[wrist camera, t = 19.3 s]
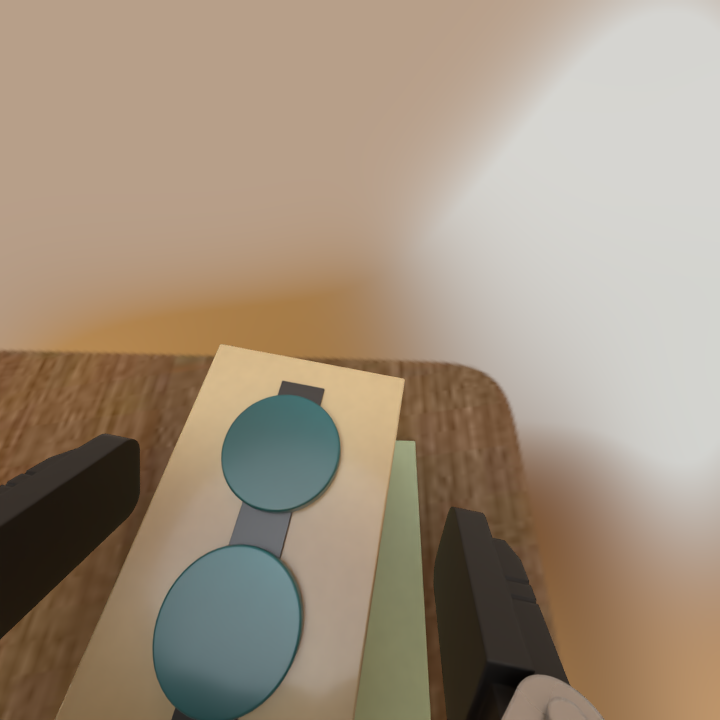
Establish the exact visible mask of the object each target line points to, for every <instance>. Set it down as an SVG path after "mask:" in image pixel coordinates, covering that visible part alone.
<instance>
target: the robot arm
mask: <svg viewBox="0 0 720 720" xmlns="http://www.w3.org/2000/svg"><path fill="white" fill-rule="evenodd" d="M139 494H140V448H139V444H138V442H137V441H136V440H134V439H129V438H125V437H120V436H115V435H110V434H101V435H99V436H97V437H96V438H94V439H92V440H91V441H89V442H87V443H86V444H84V445H82V446H81V447H79V448H77V449H74V450H71V451H68V452H65V453H62V454H59V455H56V456H53V457H50V458H48V459H46V460H45V461H43V462H41V463H39V464H38V465H36V466H34V467H32V468H31V469H29V470H27V471H26V473H25V474H20V475H18V476H17V477H15V478H13V479H11V480H10V481H8V482H7V484H6V485H1V486H0V639H1V638H2V637H3V636H4V635H5V634H6V633H7V632H8V631H10V630H11V629H12V628H13V627H14V626H15V625H16V624H17V623H18V622H19V621H20V620H21V619H22V618H23V617H24V616H25V615H26V614H27V613H28V612H29V611H30V610H31V609H33V608H34V607H35V606H36V605H37V604H38V603H39V602H40V601H41V600H42V599H43V598H44V597H45V596H46V595H47V594H48V593H49V592H50V591H51V590H52V589H53V588H54V587H56V586H57V585H58V584H59V583H60V582H61V581H62V580H63V579H64V578H65V577H66V576H67V575H68V574H69V573H70V572H71V571H72V570H73V569H74V568H75V567H76V566H77V565H79V564H80V563H81V562H82V561H83V560H84V559H85V558H86V557H87V556H88V555H89V554H90V553H91V552H92V551H93V550H94V549H95V548H96V547H97V546H98V545H99V544H100V543H102V542H103V541H104V540H105V539H106V538H107V537H108V536H109V535H110V534H111V533H112V532H113V531H114V530H115V529H116V528H117V527H118V526H119V525H120V524H121V523H122V522H123V521H125V520H126V519H127V518H128V517H129V515H130V514H131V513H132V511H133V510H134V508H135V506H136V504H137V501H138V498H139ZM434 593H435V603H436V613H437V623H438V633H439V643H440V653H441V663H442V673H443V683H444V693H445V703H446V713H447V720H604V718H603V717H602V716H601V714H600V713H599V712H598V711H597V709H596V708H595V707H594V706H593V705H592V704H591V703H590V702H589V701H588V700H587V699H586V698H585V697H584V696H583V695H581V694H580V693H579V692H578V691H577V690H575V689H574V688H573V687H571V686H570V684H569V682H568V679H567V677H566V674H565V672H564V669H563V666H562V664H561V661H560V659H559V656H558V654H557V651H556V649H555V646H554V644H553V641H552V639H551V636H550V633H549V631H548V628H547V626H546V623H545V621H544V618H543V616H542V613H541V611H540V608H539V605H538V604H536V598H535V595H534V593H533V590H532V588H531V585H529V580H528V578H527V575H526V572H525V570H524V567H523V565H522V562H521V560H520V559H519V557H518V556H517V555H516V554H515V553H514V551H513V550H512V549H511V548H510V546H509V545H508V544H507V543H506V542H505V540H500V539H495V538H492V535H491V532H490V529H489V526H488V523H487V520H486V517H485V515H484V514H483V513H481V512H476V511H471V510H466V509H461V508H456V507H451V508H450V510H449V512H448V516H447V519H446V523H445V526H444V530H443V534H442V537H441V541H440V545H439V548H438V552H437V556H436V560H435V567H434Z"/></svg>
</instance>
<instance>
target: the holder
mask: <svg viewBox="0 0 720 720" xmlns="http://www.w3.org/2000/svg"><path fill="white" fill-rule="evenodd" d="M404 383H405V380H404V379H402V378H397V377H392V376H386V375H381V374H376V373H371V372H365V371H360V370H355V369H350V368H344V367H339V366H334V365H329V364H323V363H318V362H313V361H307V360H302V359H297V358H292V357H286V356H281V355H276V354H271V353H265V352H260V351H255V350H249V349H244V348H239V347H234V346H229V345H223V344H221V345H220V346H219V349H218V351H217V353H216V355H215V358H214V360H213V362H212V364H211V367H210V369H209V371H208V373H207V376H206V378H205V380H204V383H203V385H202V387H201V389H200V392H199V394H198V396H197V398H196V401H195V403H194V405H193V407H192V410H191V412H190V414H189V417H188V419H187V421H186V423H185V426H184V428H183V430H182V432H181V435H180V437H179V439H178V441H177V444H176V446H175V448H174V451H173V453H172V455H171V457H170V460H169V462H168V464H167V466H166V469H165V471H164V473H163V476H162V478H161V480H160V482H159V485H158V487H157V489H156V491H155V494H154V496H153V498H152V500H151V503H150V505H149V507H148V510H147V512H146V514H145V516H144V519H143V521H142V523H141V525H140V528H139V530H138V532H137V535H136V537H135V539H134V541H133V544H132V546H131V548H130V550H129V553H128V555H127V557H126V559H125V562H124V564H123V566H122V569H121V571H120V573H119V575H118V578H117V580H116V582H115V584H114V587H113V589H112V591H111V593H110V596H109V598H108V600H107V603H106V605H105V607H104V609H103V612H102V614H101V616H100V618H99V621H98V623H97V625H96V628H95V630H94V632H93V634H92V637H91V639H90V641H89V643H88V646H87V648H86V650H85V652H84V655H83V657H82V659H81V662H80V664H79V666H78V668H77V671H76V673H75V675H74V677H73V680H72V682H71V684H70V686H69V689H68V691H67V693H66V696H65V698H64V700H63V702H62V705H61V707H60V709H59V711H58V714H57V716H56V718H55V720H354V718H355V711H356V704H357V698H358V691H359V684H360V677H361V671H362V664H363V657H364V651H365V644H366V637H367V631H368V624H369V617H370V610H371V604H372V597H373V590H374V584H375V577H376V570H377V564H378V557H379V550H380V543H381V537H382V530H383V523H384V517H385V510H386V503H387V497H388V490H389V483H390V476H391V470H392V463H393V456H394V450H395V443H396V436H397V430H398V423H399V416H400V409H401V403H402V396H403V389H404Z"/></svg>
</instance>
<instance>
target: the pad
mask: <svg viewBox="0 0 720 720" xmlns="http://www.w3.org/2000/svg"><path fill="white" fill-rule="evenodd" d="M354 720H431V714H430V697H429V679H428V661H427V643H426V626H425V608H424V590H423V573H422V555H421V537H420V519H419V502H418V484H417V466H416V449H415V441H396V443H395V450H394V456H393V463H392V470H391V476H390V483H389V490H388V497H387V503H386V510H385V517H384V523H383V530H382V537H381V543H380V550H379V557H378V564H377V570H376V577H375V584H374V590H373V597H372V604H371V610H370V617H369V624H368V631H367V637H366V644H365V651H364V657H363V664H362V671H361V677H360V684H359V691H358V698H357V704H356V711H355V718H354Z"/></svg>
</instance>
